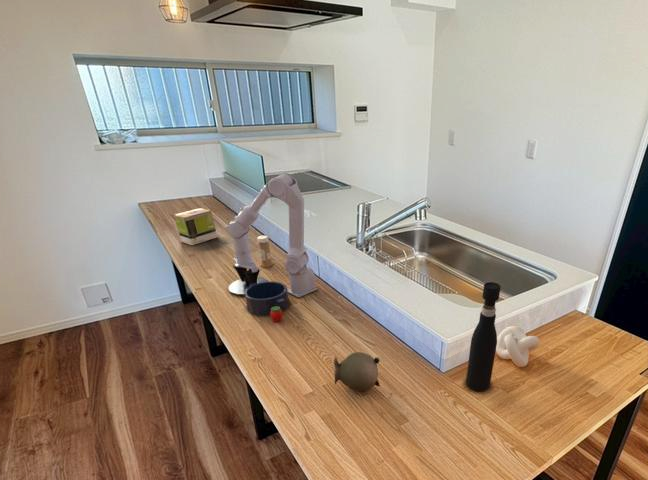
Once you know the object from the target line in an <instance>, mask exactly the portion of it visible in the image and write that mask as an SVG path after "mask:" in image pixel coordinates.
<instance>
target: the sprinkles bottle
mask: <svg viewBox="0 0 648 480" xmlns="http://www.w3.org/2000/svg"><path fill="white" fill-rule="evenodd" d="M257 243H258V250H259V255H260V260H261V266H262V267H263V268H269V267H272V266H273V261H272V256H271V248H270V243H269V236H267V235H259V236H257Z"/></svg>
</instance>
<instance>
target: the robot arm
mask: <svg viewBox="0 0 648 480" xmlns="http://www.w3.org/2000/svg"><path fill="white" fill-rule="evenodd" d="M272 198H277V199H278V200H280V201H282V202H284V203H285V204H286V205H287V206H288V243H289V244H288V246H289V247H288V251H287V254H286V260H285V262H284V268H285V270H286V272H287V273H288V279H289V286H290V288H287V291H288V294H291V295H292V296H294V297H296V298H300V297H304V296H305V295H309V294H310V293H313V292H315V291H318V288H317V284H316V275H315V271H314V270H313V268H312V267H310V266H307V264H308V263H309V255H308V253H307V248H306V246H305V199H304V196H303V194H302V192H301V190H300V188H299V186H298V181H297V179H296V178H294V177H293V176H292V175H291V174H290V173H287V172H282V173H280V174H279V175H277V176H276V177H273V178H271V179H269V181H268V182H267V183H266V184H264V186H262V189H260V191H259V192H258V194H257V195H256V197H255V198H254V200H253V201H252V202H251V204H247V205H245V206H242V207H240V209H239V210H240V212H239V213H238V215H236V216H234V218H233V220H234V221H231V222H230V223H228V225H227V229H226V231H227V233H228V235H229V236H230V237H231V239H232V244H233V250H234V254H235V257H233V262H234V263H235V264H233V265H232V268H234V270H235V271H236V273H237V275H238V277H239V280H240V279H241V281H242V282H244V281H245V279H244V276H245V275H246V276H247V278H248V280H249V283H250V284H252V283H256V284H257V277H259V274H260V271H261V270H260V268H258V266H257V265H256V264H255V262H254V260H253V256H252V250H251V245H250V239H249V232H250V229H251V227H252V226H253V225H254V223H255V222H256V221H257V220H258V219H259V217H260V213H259V211H260V210H261V209H262V208H263V206H264V205H266V203H267V202H268V201H269V200H270V199H272Z"/></svg>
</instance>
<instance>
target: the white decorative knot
mask: <svg viewBox="0 0 648 480" xmlns="http://www.w3.org/2000/svg"><path fill="white" fill-rule="evenodd" d="M540 343H541V342H540V339H539V337H538V336H536V335H528V336H527V335H526V333H525V331H524V329H522V328H521V327H520V326H517V325H511V326H507V327H505V328H504V329H503V330H501V331H500V333H499V335H497V346H496V355H498V357H499V358H501V359H502V360H511V361H512V362H513V364H514V365H515V366H517V367H519V368H525V367H526V366H527V365H528V363H529V358H530V353H531V352H533V351H534V350H537V348H538V347H539V346H540Z"/></svg>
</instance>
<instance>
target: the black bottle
mask: <svg viewBox="0 0 648 480" xmlns="http://www.w3.org/2000/svg"><path fill="white" fill-rule="evenodd" d="M501 287H502V286H501V285H500V284H499V283H497V282H491V281H490V282H489V281H488V282H485V283H484V284H483V289H482V296H481V297H482V299H483V300H484V302H483V306H482V307H481V311H480V313H479V320H478V323H477V324H476V327H474V330H473V333H472V336H471V339H470V348H469V355H468V362H467V368H466V369H467V371H466V376H465V377H466V378H465V385H466V387H467V388H468V389H469V390H471V391H473V392H477V393H482V392H487V391H488V390H489V389H490V387H491V381H492V375H493V369H494V363H495V357H496V353H497V351H496V346H497V339H498V333H497V330H496V317H497V314H496V310H497V308H496V302H497V301H499V299H500V293H501Z"/></svg>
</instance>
